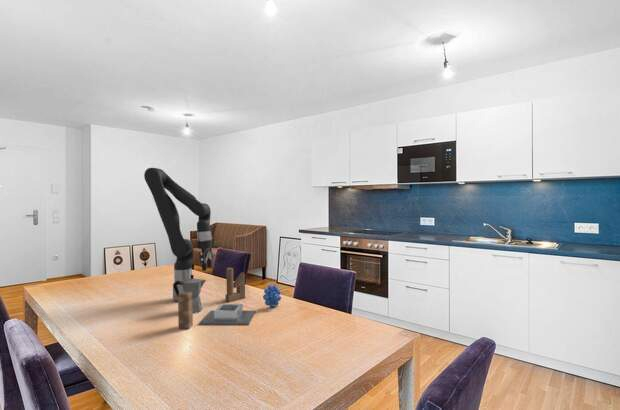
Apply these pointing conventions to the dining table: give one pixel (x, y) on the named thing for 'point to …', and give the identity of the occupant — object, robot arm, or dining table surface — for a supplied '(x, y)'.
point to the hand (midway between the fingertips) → (207, 268)
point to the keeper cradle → (228, 316)
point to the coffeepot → (195, 288)
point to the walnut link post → (185, 310)
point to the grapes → (272, 296)
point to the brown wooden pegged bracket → (235, 286)
